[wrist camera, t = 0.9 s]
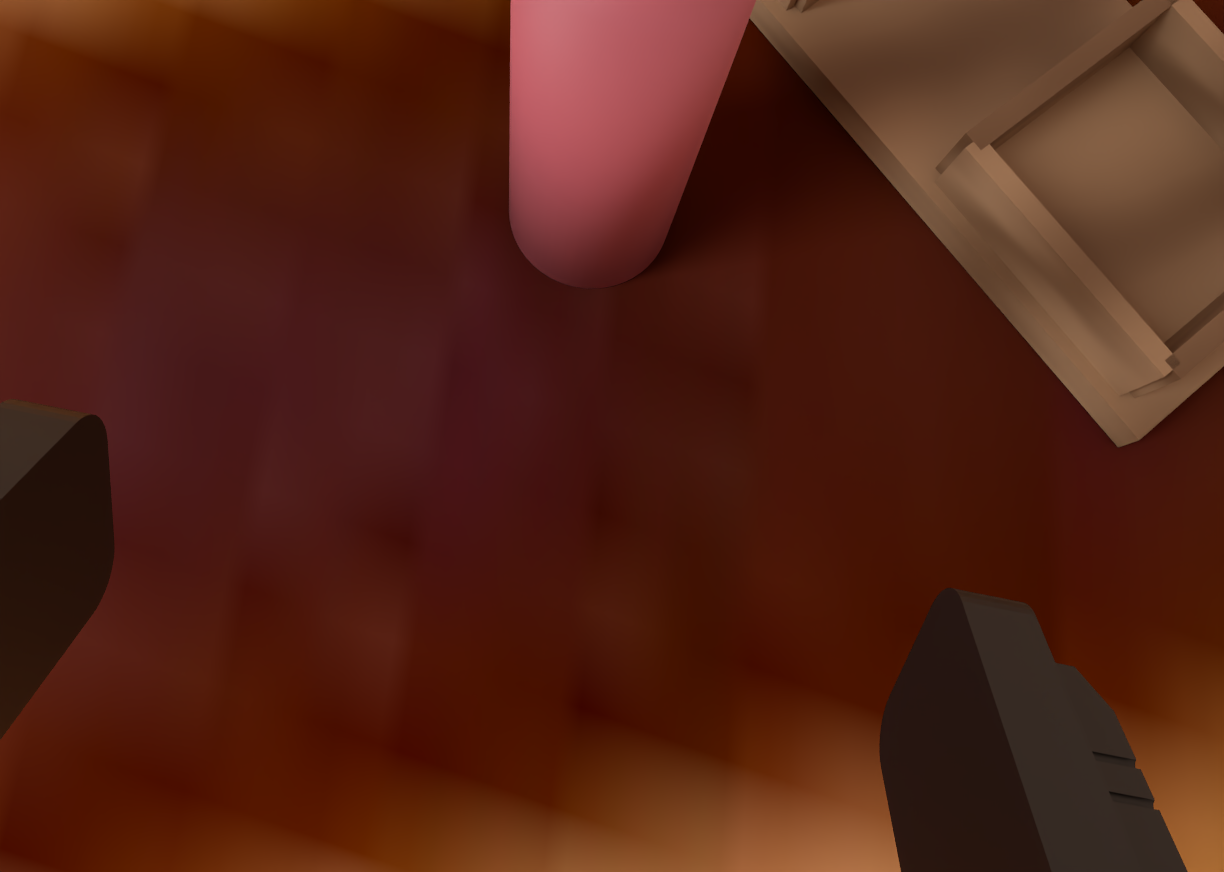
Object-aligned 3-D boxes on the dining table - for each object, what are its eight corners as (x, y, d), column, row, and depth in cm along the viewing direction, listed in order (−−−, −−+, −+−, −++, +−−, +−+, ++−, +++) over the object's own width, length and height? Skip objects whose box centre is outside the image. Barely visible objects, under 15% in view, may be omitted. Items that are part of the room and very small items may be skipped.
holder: (579, -180, 32) (587, -266, 29) (803, -316, 33) (831, -409, 30) (1118, 447, 29) (1187, 423, 26) (1327, 264, 31) (1413, 222, 28)
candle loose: (476, 195, 29) (456, -122, 17) (602, 110, 30) (666, -248, 18) (576, 319, 28) (625, 80, 17) (701, 228, 29) (831, -59, 18)
